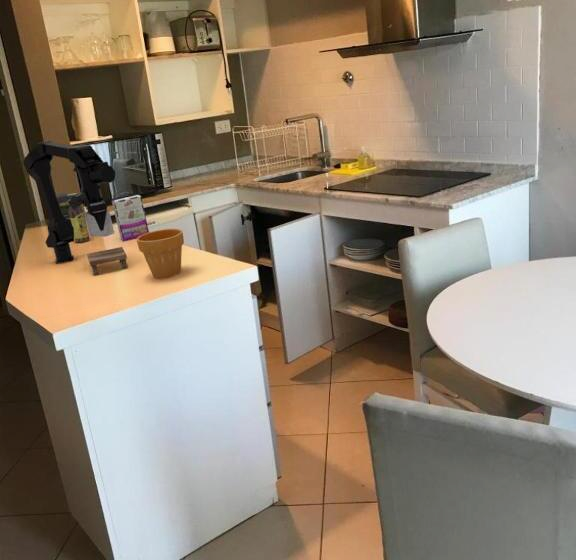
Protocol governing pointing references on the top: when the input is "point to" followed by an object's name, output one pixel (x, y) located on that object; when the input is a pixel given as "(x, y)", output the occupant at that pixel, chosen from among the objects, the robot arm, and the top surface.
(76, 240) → the sauce bottle
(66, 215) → the coffee jar
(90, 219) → the medicine box
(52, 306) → the top surface
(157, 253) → the flower pot
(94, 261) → the small brown stool
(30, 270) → the top surface
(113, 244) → the top surface
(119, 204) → the candy bar box
